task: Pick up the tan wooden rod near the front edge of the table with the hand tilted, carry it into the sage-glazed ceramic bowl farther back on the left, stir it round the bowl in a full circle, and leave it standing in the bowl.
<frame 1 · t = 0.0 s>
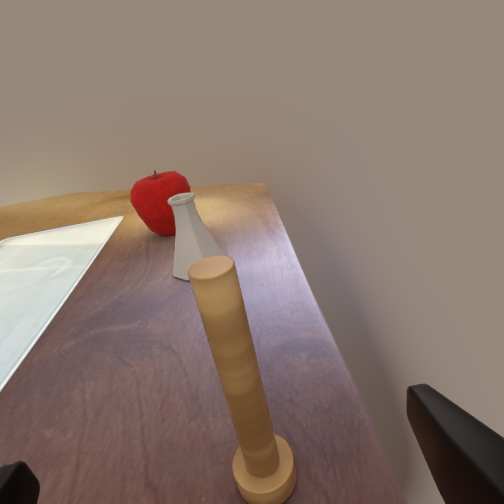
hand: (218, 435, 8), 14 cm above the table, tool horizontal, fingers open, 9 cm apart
apple: (172, 232, 62), on the table
tan wooden rod: (266, 476, 21), on the table
flask: (201, 268, 47), on the table
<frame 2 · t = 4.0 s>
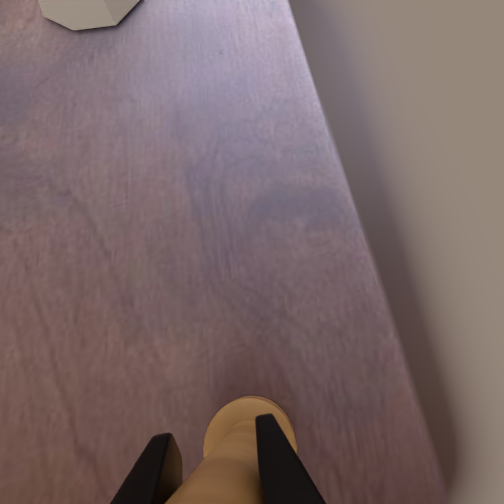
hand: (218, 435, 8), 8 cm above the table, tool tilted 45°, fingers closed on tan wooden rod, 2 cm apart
tan wooden rod: (252, 441, 15), on the table, touching gripper
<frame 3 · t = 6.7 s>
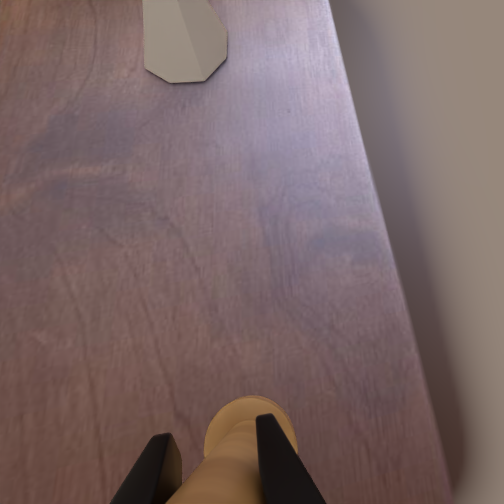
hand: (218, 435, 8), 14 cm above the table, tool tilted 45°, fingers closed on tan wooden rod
tan wooden rod: (252, 441, 15), point 6 cm above the table, touching gripper
flask: (187, 54, 30), on the table
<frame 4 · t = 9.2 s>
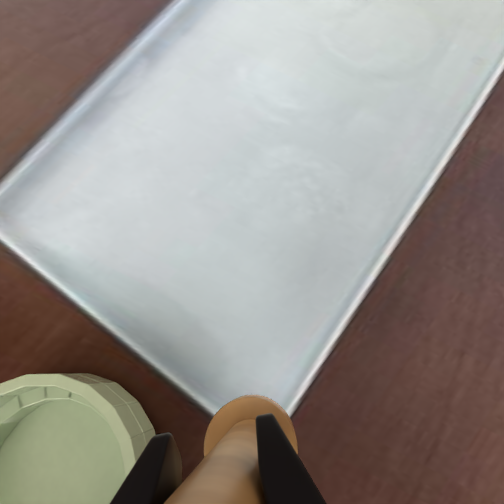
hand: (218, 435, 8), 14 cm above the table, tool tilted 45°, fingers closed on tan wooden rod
tan wooden rod: (253, 440, 15), point 6 cm above the table, touching gripper
bowl: (68, 476, 20), on the table
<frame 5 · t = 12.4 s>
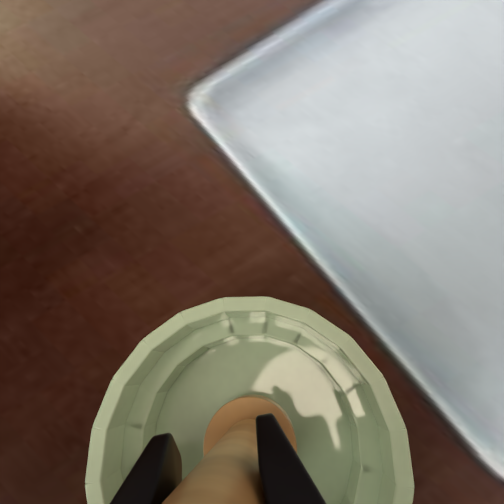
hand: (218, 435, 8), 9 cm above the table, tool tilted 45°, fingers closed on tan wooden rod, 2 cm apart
tan wooden rod: (252, 440, 15), point 1 cm above the table, touching gripper
bowl: (252, 436, 16), on the table
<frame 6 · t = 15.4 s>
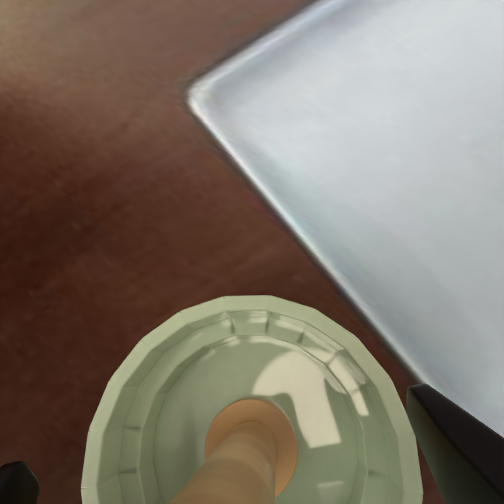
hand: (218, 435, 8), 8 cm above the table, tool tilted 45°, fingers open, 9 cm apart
tan wooden rod: (253, 442, 15), point 1 cm above the table, touching bowl
bowl: (254, 439, 16), on the table
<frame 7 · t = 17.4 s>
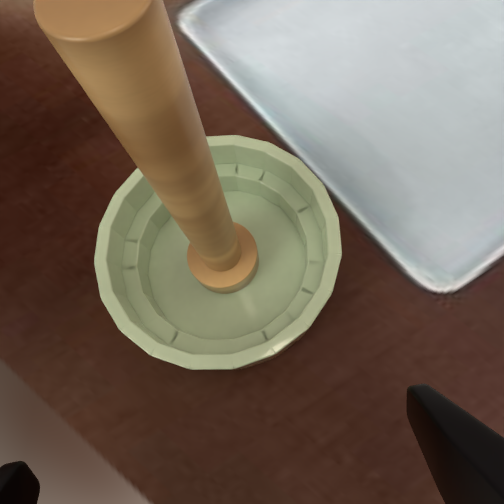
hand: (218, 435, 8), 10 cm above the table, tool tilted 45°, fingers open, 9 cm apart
tan wooden rod: (226, 261, 19), point 1 cm above the table, touching bowl
bowl: (227, 264, 20), on the table
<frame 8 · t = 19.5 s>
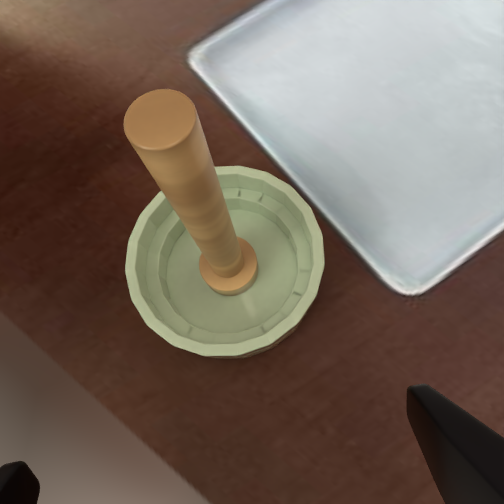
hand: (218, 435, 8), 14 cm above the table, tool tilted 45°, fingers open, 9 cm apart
tan wooden rod: (230, 269, 23), point 1 cm above the table, touching bowl
bowl: (232, 271, 24), on the table
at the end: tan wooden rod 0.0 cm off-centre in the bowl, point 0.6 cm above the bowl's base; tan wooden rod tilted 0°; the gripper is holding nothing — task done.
